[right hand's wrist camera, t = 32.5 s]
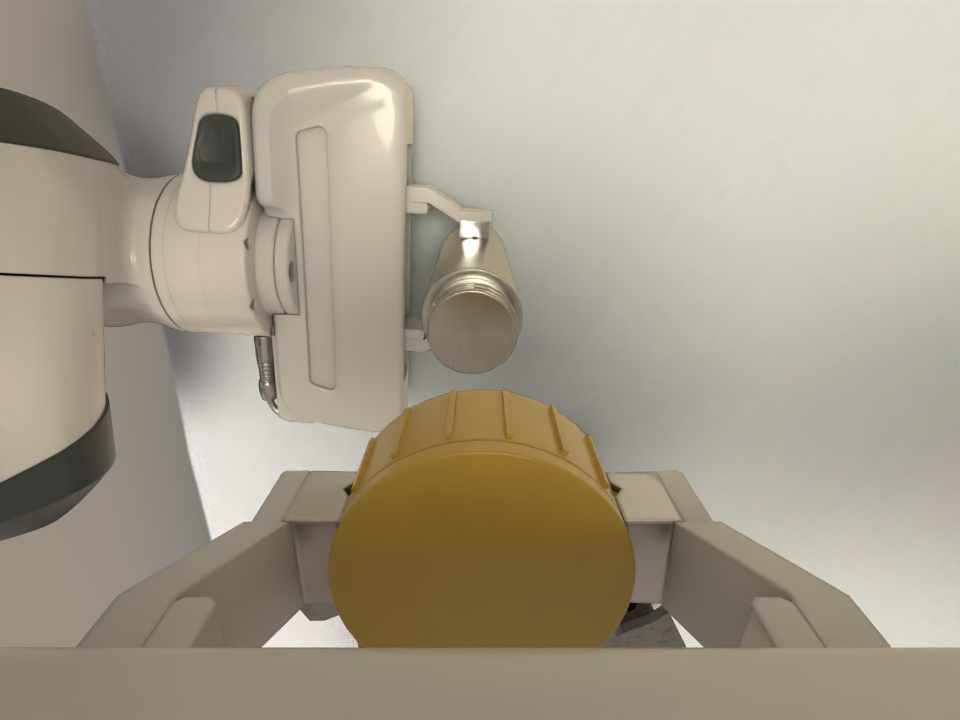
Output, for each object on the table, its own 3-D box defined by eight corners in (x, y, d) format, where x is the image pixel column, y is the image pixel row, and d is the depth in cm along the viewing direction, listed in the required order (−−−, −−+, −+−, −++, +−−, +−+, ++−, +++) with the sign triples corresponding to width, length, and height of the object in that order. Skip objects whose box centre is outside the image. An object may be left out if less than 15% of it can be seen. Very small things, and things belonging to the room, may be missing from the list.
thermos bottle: (498, 293, 37) (513, 391, 22) (436, 281, 36) (409, 373, 22) (511, 230, 35) (537, 291, 20) (447, 217, 35) (425, 269, 20)
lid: (507, 330, 9) (514, 381, 7) (659, 519, 11) (700, 605, 9) (300, 482, 11) (256, 562, 8) (462, 634, 12) (459, 733, 10)
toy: (576, 418, 40) (628, 562, 26) (666, 597, 47) (746, 787, 33) (297, 541, 45) (215, 721, 31) (416, 689, 51) (393, 892, 37)
